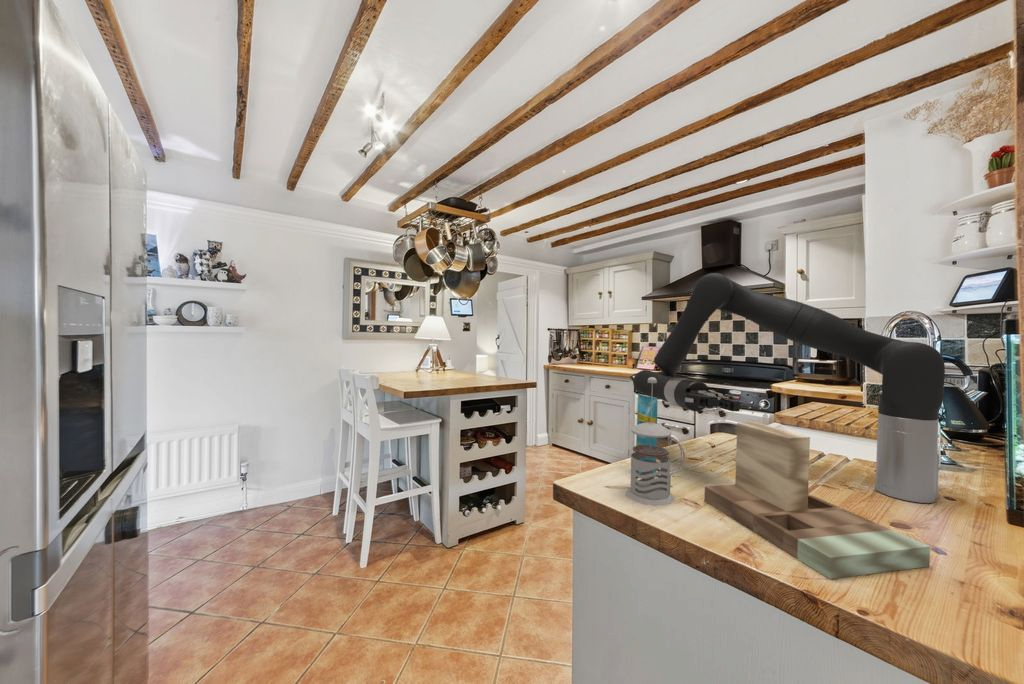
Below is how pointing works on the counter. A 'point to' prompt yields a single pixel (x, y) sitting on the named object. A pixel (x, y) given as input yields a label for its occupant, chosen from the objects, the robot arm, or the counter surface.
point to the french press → (651, 465)
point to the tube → (646, 421)
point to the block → (773, 465)
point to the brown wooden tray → (822, 534)
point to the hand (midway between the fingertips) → (737, 406)
